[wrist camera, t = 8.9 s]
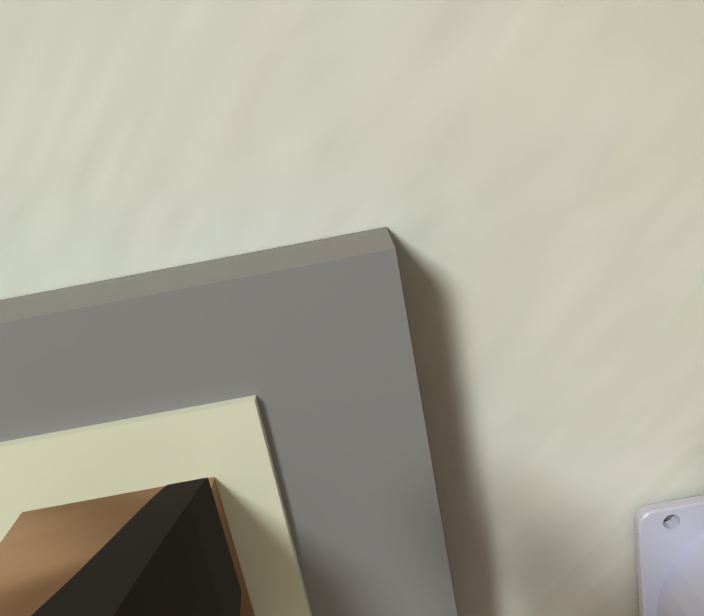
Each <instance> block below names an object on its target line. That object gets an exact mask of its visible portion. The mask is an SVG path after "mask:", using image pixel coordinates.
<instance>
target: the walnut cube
mask: <svg viewBox="0 0 704 616" xmlns="http://www.w3.org/2000/svg"><path fill="white" fill-rule="evenodd" d="M208 479H209V482H210V486H211V489H212V493H213V496H214V499H215V503H216V506H217V510H218V513H219V517H220V520H221V523H222V527H223V530H224V534H225V537H226V541H227V544H228V547H229V551H230V554H231V558H232V561H233V564H234V568H235V571H236V575H237V578H238V582H239V585H240V588H241V608H240V616H255V614H254V611H253V607H252V604H251V600H250V597H249V594H248V590H247V587H246V583H245V580H244V576H243V573H242V570H241V566H240V563H239V559H238V556H237V552H236V549H235V546H234V542H233V539H232V535H231V532H230V528H229V525H228V522H227V518H226V515H225V511H224V508H223V504H222V501H221V498H220V494H219V491H218V487H217V484H216V480H215V477H211V478H208ZM164 487H165V486H162V487H156V488H151V489H146V490H140V491H135V492H129V493H124V494H118V495H113V496H107V497H102V498H97V499H91V500H86V501H80V502H75V503H69V504H64V505H58V506H53V507H47V508H42V509H37V510H31V511H26V512H22V513H21V514H20V516H19V517H18V519H17V520H16V521H15V523H14V524H13V526H12V527H11V528H10V530H9V531H8V533H7V534H6V535H5V537H4V538H3V540H2V541H1V542H0V616H31V615H32V614H33V613H34V612H35V611H36V610H38V609H39V608H40V607H41V606H42V605H43V604H44V603H45V602H46V601H47V600H48V599H49V598H51V597H52V596H53V595H54V594H55V593H56V592H57V591H58V590H59V589H60V588H61V587H62V586H64V585H65V584H66V583H67V582H68V581H69V580H70V579H71V578H72V577H73V576H74V575H75V574H76V573H77V572H78V571H79V570H80V569H81V568H82V567H83V566H84V565H85V564H86V563H87V562H88V561H89V560H90V559H91V558H92V557H93V556H94V555H95V554H96V553H97V552H98V551H99V550H100V549H101V548H102V547H103V546H104V545H105V544H106V543H107V542H108V541H109V540H110V539H111V538H112V537H113V536H114V535H115V534H116V533H117V532H118V531H119V530H120V529H121V528H122V527H123V526H124V525H125V524H126V523H127V522H128V521H129V520H130V519H131V518H132V517H133V516H134V515H135V514H136V513H137V512H138V511H139V510H140V509H141V508H142V507H143V506H144V505H145V504H146V503H147V502H148V501H149V500H150V499H151V498H153V497H154V496H155V495H156V494H157V493H158V492H159V491H160V490H161V489H163V488H164Z"/></svg>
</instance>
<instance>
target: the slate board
mask: <svg viewBox="0 0 704 616" xmlns="http://www.w3.org/2000/svg"><path fill="white" fill-rule="evenodd" d="M207 477H208V478H211V477H215V480H216V484H217V487H218V491H219V494H220V498H221V501H222V504H223V508H224V511H225V515H226V518H227V522H228V525H229V528H230V532H231V535H232V539H233V542H234V546H235V549H236V552H237V556H238V559H239V563H240V566H241V570H242V573H243V576H244V580H245V583H246V587H247V590H248V594H249V597H250V600H251V604H252V607H253V611H254V614H255V616H457V610H456V604H455V598H454V592H453V586H452V580H451V574H450V568H449V562H448V556H447V550H446V544H445V539H444V533H443V527H442V521H441V515H440V509H439V503H438V497H437V491H436V485H435V479H434V473H433V467H432V462H431V456H430V450H429V444H428V438H427V432H426V426H425V420H424V414H423V408H422V402H421V396H420V390H419V385H418V379H417V373H416V367H415V361H414V355H413V349H412V343H411V337H410V331H409V325H408V319H407V313H406V308H405V302H404V296H403V290H402V284H401V278H400V272H399V266H398V260H397V254H396V248H395V246H394V244H393V241H392V239H391V236H390V234H389V232H388V229H387V227H383V228H378V229H373V230H368V231H362V232H357V233H352V234H346V235H341V236H336V237H331V238H325V239H320V240H315V241H310V242H304V243H299V244H294V245H289V246H283V247H278V248H273V249H267V250H262V251H257V252H252V253H246V254H241V255H236V256H231V257H225V258H220V259H215V260H210V261H204V262H199V263H194V264H188V265H183V266H178V267H173V268H167V269H162V270H157V271H152V272H146V273H141V274H136V275H130V276H125V277H120V278H115V279H109V280H104V281H99V282H94V283H88V284H83V285H78V286H73V287H67V288H62V289H57V290H51V291H46V292H41V293H36V294H30V295H25V296H20V297H15V298H9V299H4V300H0V542H1V541H2V540H3V538H4V537H5V535H6V534H7V533H8V531H9V530H10V528H11V527H12V526H13V524H14V523H15V521H16V520H17V519H18V517H19V516H20V514H21V513H22V512H26V511H31V510H37V509H42V508H47V507H53V506H58V505H64V504H69V503H75V502H80V501H86V500H91V499H97V498H102V497H107V496H113V495H118V494H124V493H129V492H135V491H140V490H146V489H151V488H156V487H162V486H166V485H168V484H174V483H179V482H185V481H190V480H196V479H201V478H207Z"/></svg>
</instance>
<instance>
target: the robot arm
mask: <svg viewBox="0 0 704 616" xmlns="http://www.w3.org/2000/svg"><path fill="white" fill-rule="evenodd" d="M669 515H673V517H672V518H671V519H670V520H668V521H664V519H665V518H666V517H667V516H669ZM634 528H635V544H636V560H637V577H638V593H639V610H640V616H704V495H700V496H694V497H688V498H683V499H677V500H672V501H666V502H660V503H655V504H649V505H646V506H643V507H642V508H641V509H639V510H638V512H637V513H636V515H635V518H634ZM240 608H241V588H240V585H239V582H238V578H237V575H236V571H235V568H234V564H233V561H232V558H231V554H230V551H229V547H228V544H227V541H226V537H225V534H224V530H223V527H222V523H221V520H220V517H219V513H218V510H217V506H216V503H215V499H214V496H213V493H212V489H211V486H210V482H209V479H208V477H207V478H201V479H196V480H190V481H185V482H179V483H174V484H168V485H166V486H165V487H164V488H163V489H161V490H160V491H159V492H158V493H157V494H156V495H155V496H154V497H153V498H151V499H150V500H149V501H148V502H147V503H146V504H145V505H144V506H143V507H142V508H141V509H140V510H139V511H138V512H137V513H136V514H135V515H134V516H133V517H132V518H131V519H130V520H129V521H128V522H127V523H126V524H125V525H124V526H123V527H122V528H121V529H120V530H119V531H118V532H117V533H116V534H115V535H114V536H113V537H112V538H111V539H110V540H109V541H108V542H107V543H106V544H105V545H104V546H103V547H102V548H101V549H100V550H99V551H98V552H97V553H96V554H95V555H94V556H93V557H92V558H91V559H90V560H89V561H88V562H87V563H86V564H85V565H84V566H83V567H82V568H81V569H80V570H79V571H78V572H77V573H76V574H75V575H74V576H73V577H72V578H71V579H70V580H69V581H68V582H67V583H66V584H65V585H64V586H62V587H61V588H60V589H59V590H58V591H57V592H56V593H55V594H54V595H53V596H52V597H51V598H49V599H48V600H47V601H46V602H45V603H44V604H43V605H42V606H41V607H40V608H39V609H38V610H36V611H35V612H34V613H33V614H32V615H31V616H240Z"/></svg>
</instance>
